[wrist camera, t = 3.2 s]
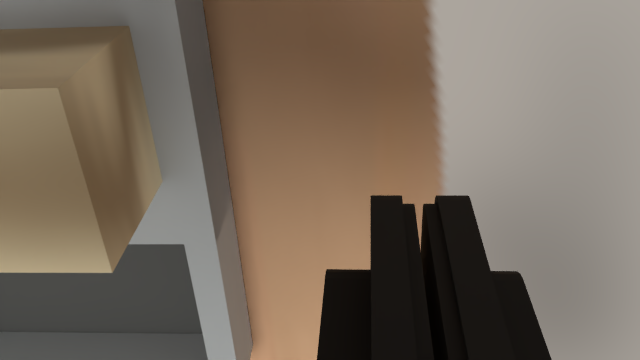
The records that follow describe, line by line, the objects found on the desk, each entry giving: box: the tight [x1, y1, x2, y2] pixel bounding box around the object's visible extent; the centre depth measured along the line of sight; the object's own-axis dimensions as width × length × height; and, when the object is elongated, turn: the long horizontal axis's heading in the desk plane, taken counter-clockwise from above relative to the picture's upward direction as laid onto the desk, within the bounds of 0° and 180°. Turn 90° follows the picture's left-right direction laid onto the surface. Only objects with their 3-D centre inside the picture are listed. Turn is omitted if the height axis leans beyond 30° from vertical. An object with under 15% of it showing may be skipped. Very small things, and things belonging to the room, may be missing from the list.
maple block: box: [0, 26, 163, 273], centre depth 14 cm, size 4×4×4 cm
